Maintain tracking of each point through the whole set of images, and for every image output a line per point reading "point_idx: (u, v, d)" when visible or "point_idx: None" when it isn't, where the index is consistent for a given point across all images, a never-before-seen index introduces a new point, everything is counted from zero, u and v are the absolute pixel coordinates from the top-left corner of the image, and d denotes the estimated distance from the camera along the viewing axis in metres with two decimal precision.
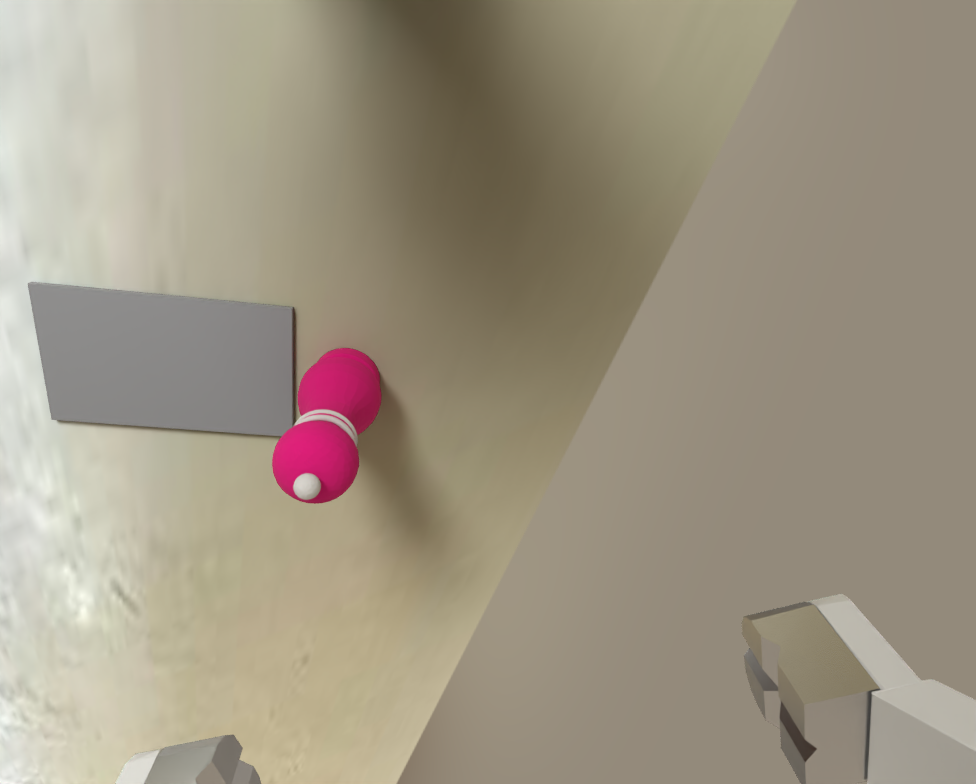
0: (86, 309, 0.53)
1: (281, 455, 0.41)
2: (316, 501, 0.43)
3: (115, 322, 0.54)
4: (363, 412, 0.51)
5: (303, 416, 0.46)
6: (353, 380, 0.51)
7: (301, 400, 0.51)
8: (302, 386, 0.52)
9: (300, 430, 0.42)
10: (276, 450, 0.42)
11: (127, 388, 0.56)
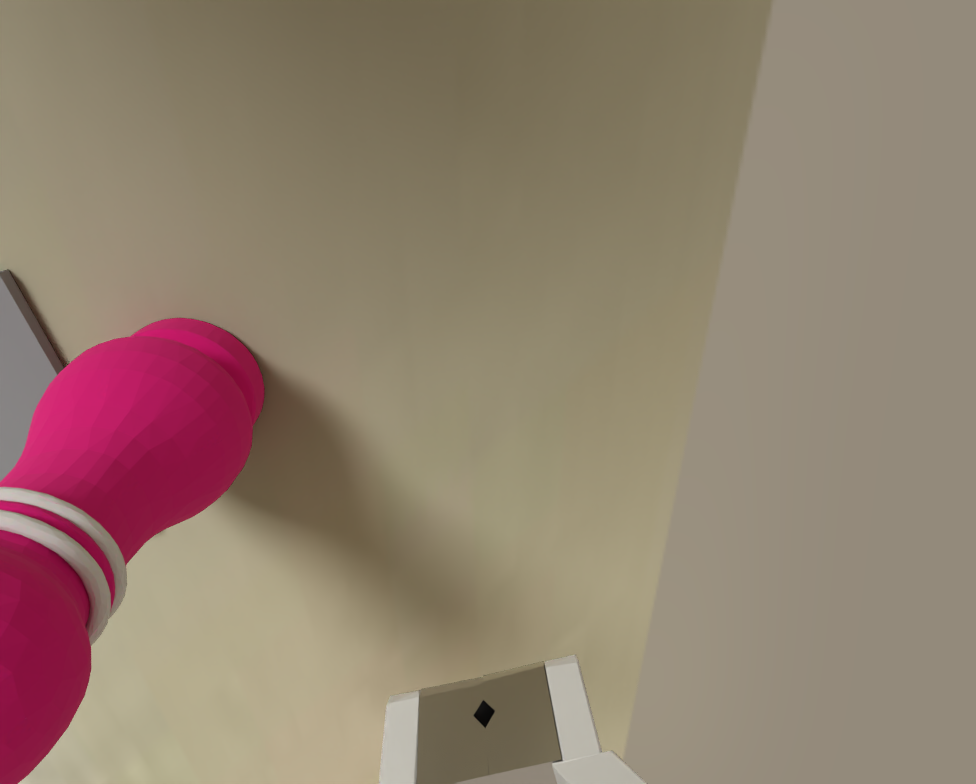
0: None
1: None
2: None
3: None
4: (174, 452, 0.20)
5: None
6: (124, 382, 0.20)
7: None
8: None
9: None
10: None
11: None
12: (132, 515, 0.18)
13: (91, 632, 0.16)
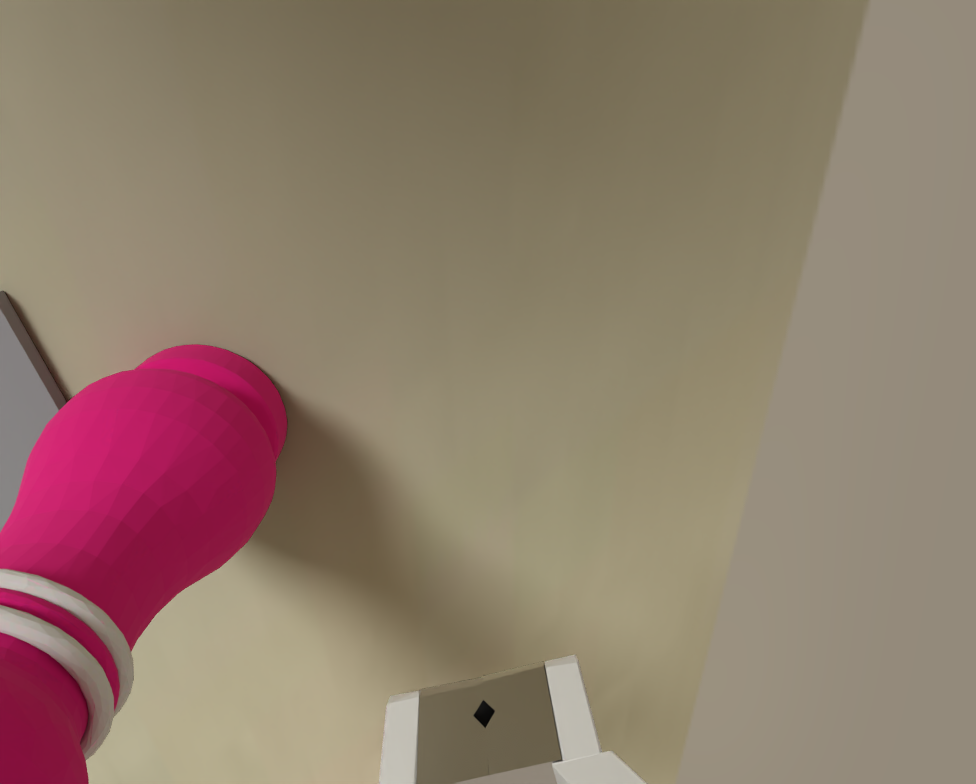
0: None
1: None
2: None
3: None
4: (190, 508, 0.17)
5: None
6: (133, 425, 0.17)
7: None
8: None
9: None
10: None
11: None
12: (141, 588, 0.15)
13: (89, 744, 0.13)
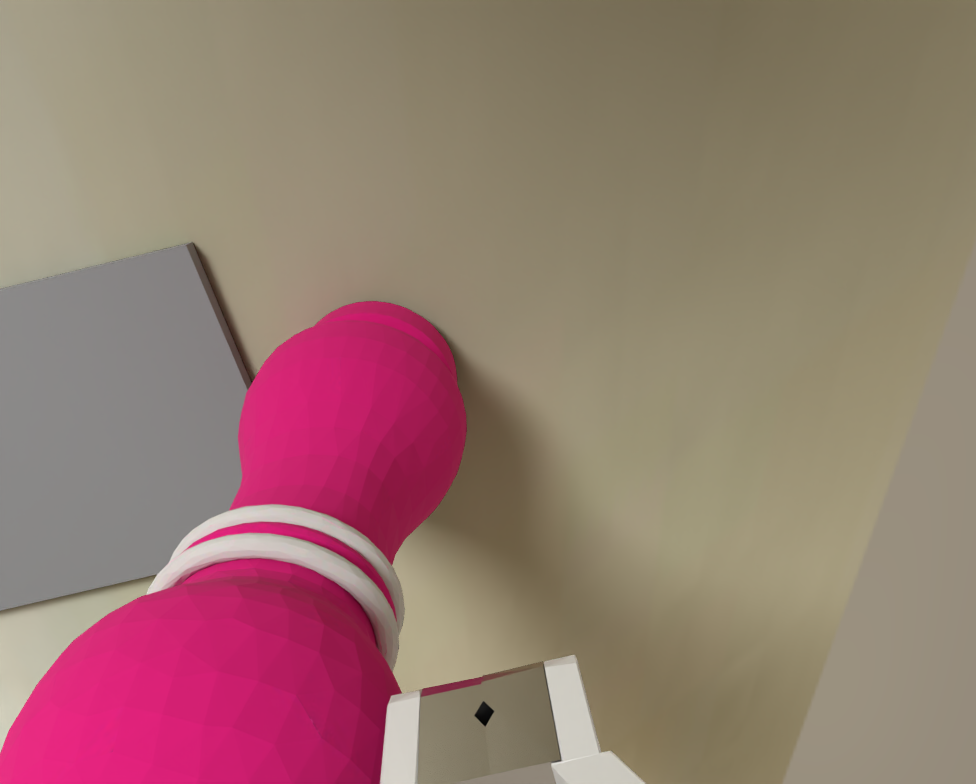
0: None
1: None
2: None
3: None
4: (415, 460, 0.17)
5: (177, 552, 0.12)
6: (358, 374, 0.17)
7: None
8: (238, 431, 0.18)
9: (54, 685, 0.08)
10: None
11: None
12: (390, 538, 0.15)
13: None
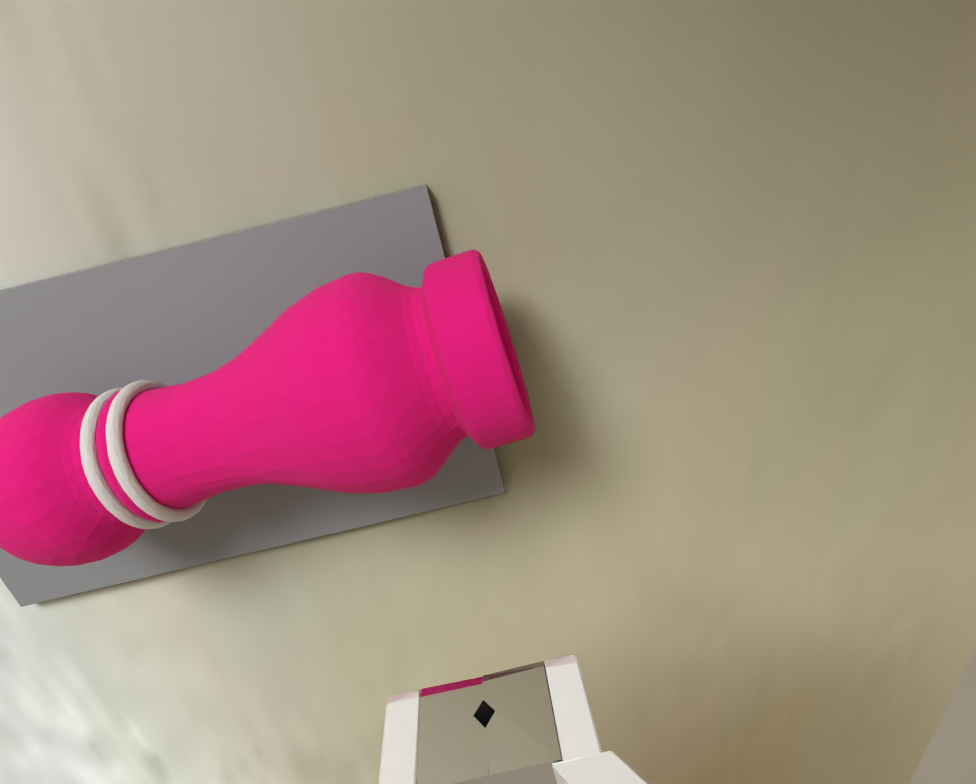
0: None
1: None
2: None
3: (48, 361, 0.23)
4: (244, 407, 0.18)
5: None
6: (273, 322, 0.19)
7: None
8: None
9: None
10: None
11: None
12: (184, 447, 0.19)
13: None
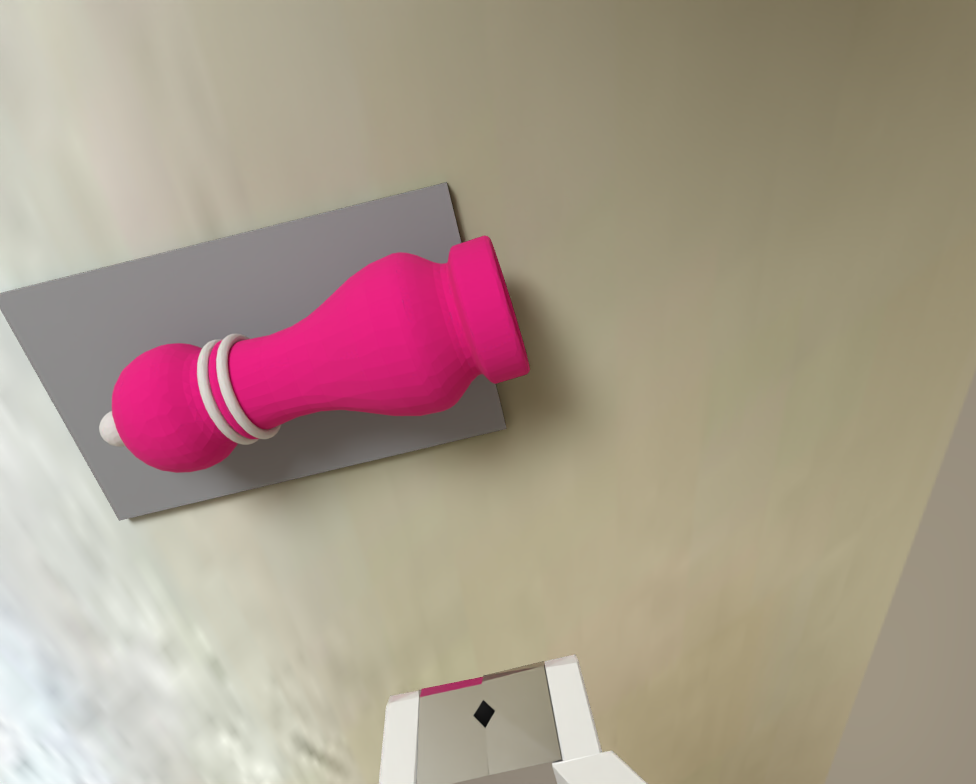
0: (102, 310, 0.29)
1: None
2: None
3: (156, 317, 0.30)
4: (320, 352, 0.25)
5: None
6: (337, 290, 0.26)
7: None
8: None
9: None
10: None
11: None
12: (274, 382, 0.26)
13: (223, 432, 0.27)
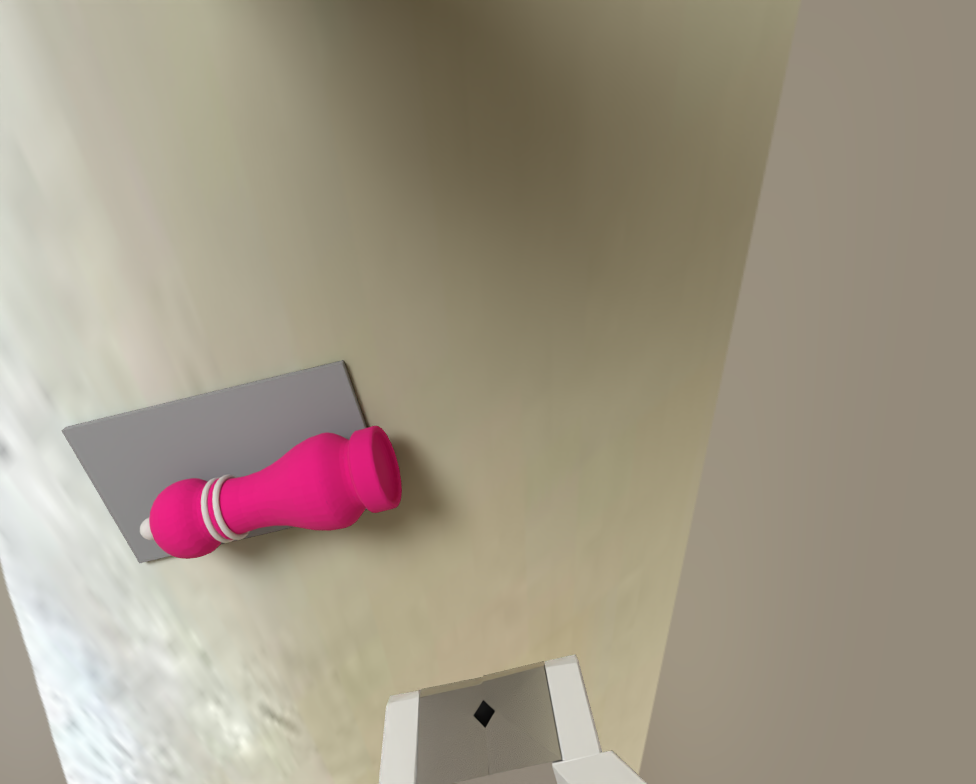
0: (129, 437, 0.47)
1: None
2: None
3: (163, 441, 0.47)
4: (280, 514, 0.44)
5: None
6: (282, 477, 0.43)
7: None
8: None
9: (168, 486, 0.46)
10: None
11: None
12: (253, 522, 0.45)
13: None
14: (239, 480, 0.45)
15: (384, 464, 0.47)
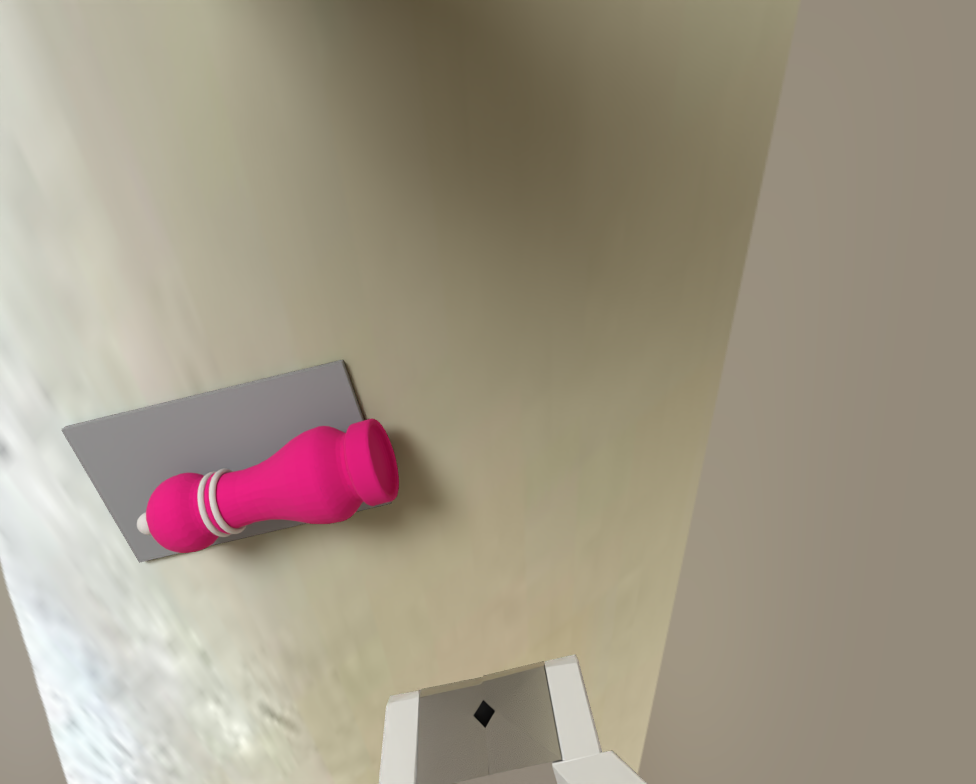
0: (129, 437, 0.47)
1: None
2: None
3: (163, 440, 0.47)
4: (274, 503, 0.43)
5: None
6: (278, 464, 0.43)
7: None
8: None
9: None
10: None
11: None
12: (247, 513, 0.44)
13: None
14: (237, 472, 0.45)
15: (382, 460, 0.47)
